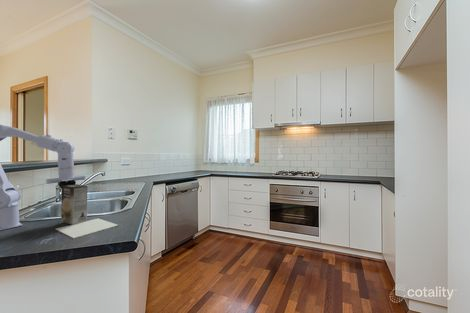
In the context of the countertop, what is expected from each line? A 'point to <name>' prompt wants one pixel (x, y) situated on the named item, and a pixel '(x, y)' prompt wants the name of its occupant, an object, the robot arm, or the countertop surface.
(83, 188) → the coffee box
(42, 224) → the countertop surface
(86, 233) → the mat
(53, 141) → the robot arm
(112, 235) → the countertop surface
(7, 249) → the countertop surface
